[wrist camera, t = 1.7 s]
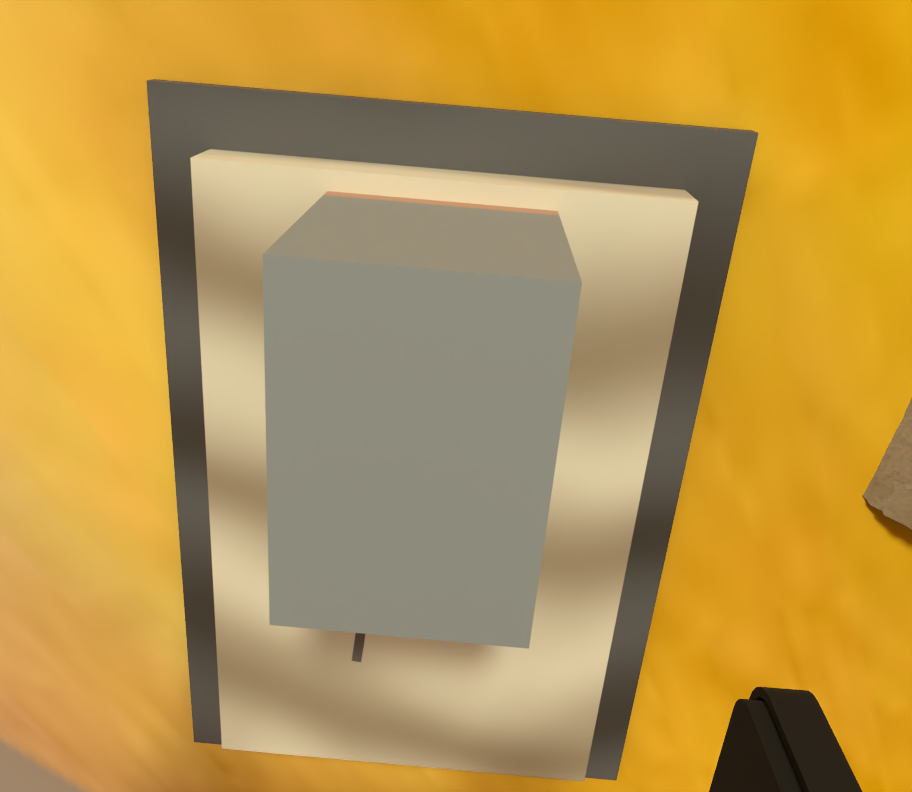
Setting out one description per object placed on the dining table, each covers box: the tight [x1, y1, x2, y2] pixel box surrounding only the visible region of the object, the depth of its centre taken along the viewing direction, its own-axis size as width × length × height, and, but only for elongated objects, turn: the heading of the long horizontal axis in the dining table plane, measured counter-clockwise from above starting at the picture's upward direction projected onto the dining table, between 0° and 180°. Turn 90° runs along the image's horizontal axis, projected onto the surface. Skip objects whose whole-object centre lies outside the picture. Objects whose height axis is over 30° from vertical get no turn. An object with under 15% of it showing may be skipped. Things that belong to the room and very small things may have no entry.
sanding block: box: [262, 191, 582, 649], centre depth 19 cm, size 8×6×6 cm
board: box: [147, 79, 758, 781], centre depth 24 cm, size 22×15×2 cm
